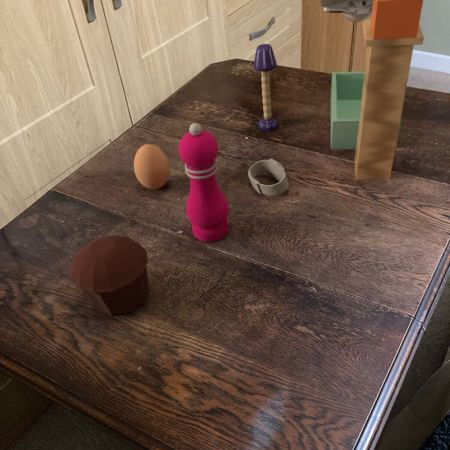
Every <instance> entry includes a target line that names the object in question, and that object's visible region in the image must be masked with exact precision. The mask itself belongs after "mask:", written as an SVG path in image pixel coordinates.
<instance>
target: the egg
mask: <svg viewBox="0 0 450 450" xmlns="http://www.w3.org/2000/svg"><path fill="white" fill-rule="evenodd" d="M133 171H134V174H135V177H136V179H137V180H138V182H139V183H140V184H141V185H142V186H143V187H145V188H146V189H149V190H158V189H161V188H162V187H164V186H165V185H166V183H168V181H169V178H170V176H171V164H170V162H169V159H168V157H167V155H166V154H165V153H164V151H163V150H162V149H161V148H160V147H159V146H157V145H156V144H152V143H146V144H143V145H142V146H140V147H139V148H138V149H137V151H136V153H135V156H134V160H133Z"/></svg>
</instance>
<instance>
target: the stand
mask: <svg viewBox="0 0 450 450" xmlns="http://www.w3.org/2000/svg"><path fill="white" fill-rule="evenodd" d="M362 33H363V39H364V40H363V41H364V47H365V48H366V57H365V63H364V64H365V65H364V71H365V73H364V82H363V91H362V100H361V109H360V118H359V127H358V135H357V144H356V149H355V155H354V174H355V180H356V181H360V180H361V181H372V180H373V181H376V180H377V181H380V180H381V181H385V180H386V181H390V180H391V175H392V170H393V164H394V158H395V152H396V149H397V146H396V142H397V143H398V141H397V137H398V138H399V135H398V131H399V132H400V130H399V126H400V127H401V124H400V120H401V121H402V114H403V107H404V102H405V97H406V91H407V86H408V81H409V76H410V75H409V74H410V69H411V63H412V57H413V51H414V46H417V45H424V39H425V38H424V33H423V31H422V28H421V24H419V26H418V32H417V37H413V38H391V39H373V36H372V29H371V19H364V20H362ZM395 148H396V149H395Z"/></svg>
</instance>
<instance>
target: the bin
mask: <svg viewBox="0 0 450 450" xmlns="http://www.w3.org/2000/svg"><path fill="white" fill-rule="evenodd" d="M364 73H365V70H363V71H360V70H359V71H333V72H332V73H331V87H330V88H331V89H330V150H356V144H357V135H358V127H359V118H360V109H361V100H362V91H363V82H364ZM401 123H402V119H401V120H400V126H399V131H398V137H397V142H396V148H395V150H396V149H397V146H398V141H399V135H400V129H401Z"/></svg>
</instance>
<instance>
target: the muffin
mask: <svg viewBox="0 0 450 450" xmlns="http://www.w3.org/2000/svg"><path fill="white" fill-rule="evenodd" d="M148 263H149V258H148V251H147V248H145V247H143V246H142V245H141V244H140V243H139V242H138V241H136V240H134V238H132V237H129V236H124V235H119V234H112V235H103V236H101V237H98V238H95V239H93V240H91V241H89V242H88V243H87V244H85V245H84V246H82V247H81V248H79V250H78V252H77V253H76V255H75V256H74V258H73V259H72V261H71V264H70V267H69V277H70V279H69V280H70V281H71V282H72V283H73V284H74V285H75V286H76V288H78V289H79V290H82V291H83V293H84V294H85V295H86V297H87V299H89V301H90V302H91V304H92V306H94V308H95V309H96V310H97V311H98V312H101V313H104V312H105V314H107V315H109V316H111V317H112V316H113V315H114V316H117V315H116V314H118V315H121V313H122V314H129V313H128V312H130V313H132V312H133V311H134V310H135V309H136V308H137V307H139V306H141V305H143V302H144V303H145V300H146V296H147V293H148V292H149V279H148V270H147V265H148ZM140 304H141V305H140ZM134 308H135V309H134ZM133 309H134V310H133ZM132 310H133V311H132Z"/></svg>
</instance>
